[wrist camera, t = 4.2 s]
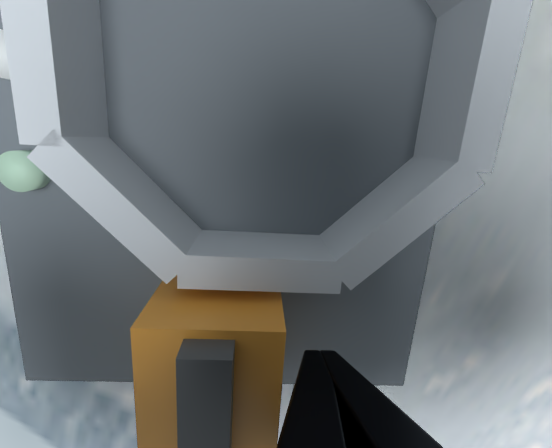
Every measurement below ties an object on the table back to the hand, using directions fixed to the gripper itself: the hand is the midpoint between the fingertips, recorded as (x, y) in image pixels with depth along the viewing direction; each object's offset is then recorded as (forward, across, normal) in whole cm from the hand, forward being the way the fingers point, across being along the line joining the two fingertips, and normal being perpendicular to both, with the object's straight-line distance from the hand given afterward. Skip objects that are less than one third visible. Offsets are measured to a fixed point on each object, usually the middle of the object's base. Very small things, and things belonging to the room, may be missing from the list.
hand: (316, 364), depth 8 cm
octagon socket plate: (+4, +3, -5) cm, 7 cm away
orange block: (+2, +3, 0) cm, 3 cm away
